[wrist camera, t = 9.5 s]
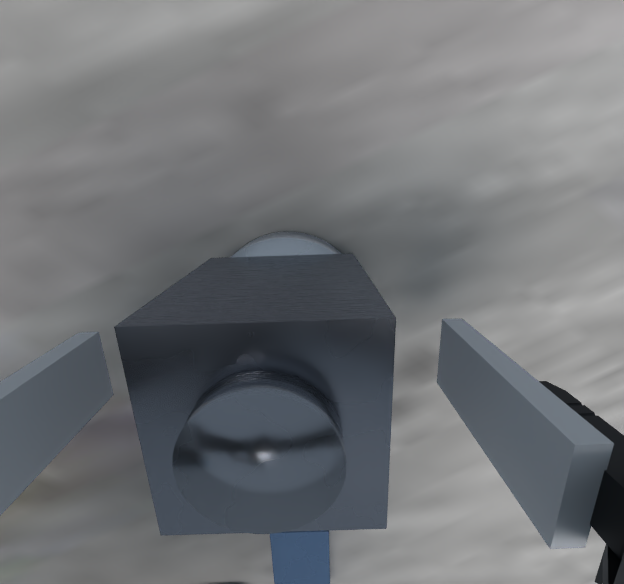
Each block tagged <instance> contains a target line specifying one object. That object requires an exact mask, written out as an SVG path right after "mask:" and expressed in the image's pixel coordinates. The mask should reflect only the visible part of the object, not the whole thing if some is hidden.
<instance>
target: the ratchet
mask: <svg viewBox="0 0 624 584" xmlns="http://www.w3.org/2000/svg"><path fill="white" fill-rule="evenodd" d="M317 254H342V253H341V252H340V251H339V250H337V249H336V248H335V247H334V246H332V245H331V244H329V243H328V242H326V241H325V240H322V239H320V238H318V237H316V236H313V235H310V234H306V233H301V232H292V231H284V232H275V233H271V234H266V235H264V236H261V237H258V238H256V239H254V240H252V241H251V242H249V243H247V244H246V245H245V246H243V247H242V248H241V249H239V250H238V251H237V252H236V253H235V254H234V255H233V256H232V257H256V256H286V255H317ZM270 540H271V550H272V561H273V572H274V583H275V584H330V568H329V530H321V531H288V532H280V533H272V534H270Z"/></svg>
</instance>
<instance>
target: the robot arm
mask: <svg viewBox="0 0 624 584" xmlns="http://www.w3.org/2000/svg"><path fill="white" fill-rule="evenodd" d="M437 383H438V385H439V386H440V388H441V389H442V391H443V392H444V394H445V395H446V397H447V398H448V399H449V401H450V402H451V404H452V405H453V407H454V408H455V410H456V411H457V413H458V414H459V416H460V417H461V419H462V420H463V421H464V423H465V424H466V426H467V427H468V429H469V430H470V432H471V433H472V435H473V436H474V438H475V439H476V441H477V442H478V444H479V445H480V446H481V448H482V449H483V451H484V452H485V454H486V455H487V457H488V458H489V460H490V461H491V463H492V464H493V466H494V467H495V468H496V470H497V471H498V473H499V474H500V476H501V477H502V479H503V480H504V482H505V483H506V485H507V486H508V488H509V489H510V490H511V492H512V493H513V495H514V496H515V498H516V499H517V501H518V502H519V504H520V505H521V507H522V508H523V510H524V511H525V513H526V514H527V515H528V517H529V518H530V520H531V521H532V523H533V524H534V526H535V527H536V529H537V530H538V532H539V533H540V535H541V536H542V537H543V539H544V540H545V542H546V543H547V545H548V546H549V548H550V549H560V548H583V547H585V546H586V542H587V539H588V535H589V532H590V528H591V526H592V527H593V529H594V530H595V531H596V532H597V533H598V534H599V536H600V537H601V538H602V539H603V540H604V541H605V543H606V546H605V550H604V553H603V556H602V559H601V563H600V566H599V569H598V573H597V576H596V579H595V582H596V583H598V584H602V583H603V584H624V435H622V434H621V433H620V432H618V431H617V430H616V429H615V428H613V427H612V426H611V425H609V424H608V423H607V422H605V421H604V420H603V419H602V418H600V417H599V416H595V414H594V412H593V411H591V410H590V409H589V408H587V407H586V406H585V405H582V404H581V402H580V401H578V400H577V399H576V398H574V397H573V396H572V395H571V394H569V393H568V392H567V391H565V390H563V389H561V388H559V387H557V386H555V385H553V384H551V383H549V382H547V381H538V380H536V379H535V378H534V377H533V376H531V375H530V374H529V373H528V372H527V371H525V370H524V369H523V368H522V367H520V366H519V365H518V364H517V363H516V362H514V361H513V360H512V359H511V358H510V357H508V356H507V355H506V354H505V353H503V352H502V351H501V350H500V349H499V348H497V347H496V346H495V345H494V344H493V343H491V342H490V341H489V340H488V339H486V338H485V337H484V336H483V335H482V334H480V333H479V332H478V331H477V330H476V329H474V328H473V327H472V326H471V325H469V324H468V323H467V322H466V321H465V320H463V319H442V328H441V340H440V351H439V363H438V374H437ZM112 396H113V390H112V386H111V382H110V378H109V373H108V369H107V365H106V361H105V357H104V352H103V348H102V344H101V340H100V335H99V332H83V333H77V334H76V335H74V336H72V337H71V338H69V339H68V340H66V341H64V342H63V343H61V344H60V345H58V346H56V347H55V348H53V349H52V350H50V351H49V352H47V353H45V354H44V355H42V356H41V357H39V358H37V359H36V360H34V361H33V362H31V363H29V364H28V365H26V366H25V367H23V368H22V369H20V370H18V371H17V372H15V373H14V374H12V375H10V376H9V377H7V378H6V379H4V380H2V381H1V382H0V515H1V514H2V513H3V512H4V511H5V510H6V509H7V508H8V507H9V506H10V505H11V504H12V503H13V502H14V500H15V499H16V498H17V497H18V496H19V495H20V494H21V493H22V492H23V491H24V490H25V489H26V488H27V487H28V485H29V484H30V483H31V482H32V481H33V480H34V479H35V478H36V477H37V476H38V475H39V474H40V473H41V472H42V471H43V469H44V468H45V467H46V466H47V465H48V464H49V463H50V462H51V461H52V460H53V459H54V458H55V457H56V456H57V455H58V453H59V452H60V451H61V450H62V449H63V448H64V447H65V446H66V445H67V444H68V443H69V442H70V441H71V440H72V439H73V437H74V436H75V435H76V434H77V433H78V432H79V431H80V430H81V429H82V428H83V427H84V426H85V425H86V424H87V422H88V421H89V420H90V419H91V418H92V417H93V416H94V415H95V414H96V413H97V412H98V411H99V410H100V409H101V408H102V406H103V405H104V404H105V403H106V402H107V401H108V400H109V399H110V398H111V397H112Z"/></svg>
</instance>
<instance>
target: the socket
mask: <svg viewBox="0 0 624 584" xmlns="http://www.w3.org/2000/svg"><path fill="white" fill-rule="evenodd" d="M114 328H115V332H116V337H117V341H118V346H119V350H120V355H121V359H122V364H123V368H124V373H125V377H126V382H127V386H128V391H129V395H130V400H131V404H132V408H133V413H134V417H135V422H136V426H137V431H138V435H139V440H140V444H141V449H142V453H143V458H144V462H145V467H146V471H147V476H148V480H149V485H150V489H151V494H152V498H153V503H154V507H155V512H156V516H157V521H158V525H159V530H160V534H161V535H189V534H222V533H253V534H272V533H280V532H288V531H321V530H355V529H386V527H387V505H388V483H389V461H390V438H391V416H392V394H393V372H394V350H395V328H396V317H395V316H394V314H393V313H392V311H391V310H390V308H389V307H388V305H387V304H386V302H385V301H384V299H383V298H382V296H381V295H380V293H379V292H378V290H377V289H376V287H375V286H374V284H373V283H372V281H371V280H370V278H369V277H368V275H367V274H366V272H365V271H364V269H363V268H362V266H361V265H360V263H359V262H358V260H357V259H356V257H355V256H354V254H353V253H347V254H317V255H286V256H256V257H225V258H211V259H209V260H208V261H206V262H205V263H203V264H202V265H201V266H199V267H198V268H196V269H195V270H194V271H192V272H191V273H189V274H188V275H187V276H185V277H184V278H182V279H181V280H180V281H178V282H177V283H175V284H174V285H173V286H171V287H170V288H168V289H167V290H166V291H164V292H163V293H161V294H160V295H158V296H157V297H156V298H154V299H153V300H151V301H150V302H149V303H147V304H146V305H144V306H143V307H142V308H140V309H139V310H137V311H136V312H135V313H133V314H132V315H130V316H129V317H128V318H126V319H125V320H123V321H122V322H121V323H119V324H118V325H116V326H115V327H114Z"/></svg>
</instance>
